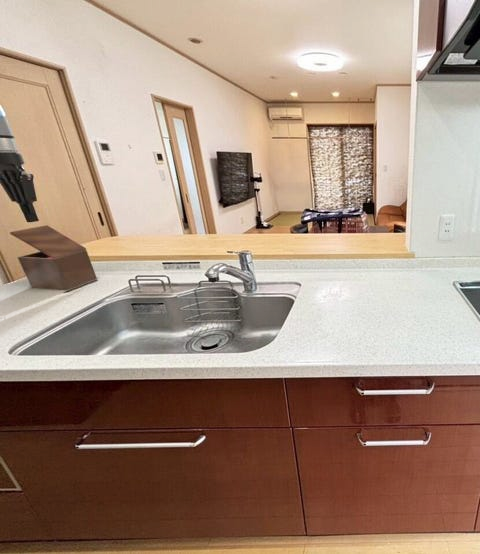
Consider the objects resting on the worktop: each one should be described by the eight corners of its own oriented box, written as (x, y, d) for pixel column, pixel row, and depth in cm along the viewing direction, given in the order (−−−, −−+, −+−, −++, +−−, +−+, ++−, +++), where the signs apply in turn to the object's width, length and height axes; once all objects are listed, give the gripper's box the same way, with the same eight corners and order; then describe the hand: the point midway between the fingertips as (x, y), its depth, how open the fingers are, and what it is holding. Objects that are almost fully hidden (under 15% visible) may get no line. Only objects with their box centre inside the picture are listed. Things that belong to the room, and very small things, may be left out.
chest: (32, 290, 113) (17, 257, 108) (64, 278, 124) (52, 248, 119) (68, 292, 112) (54, 259, 107) (97, 280, 122) (86, 250, 117)
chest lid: (9, 233, 105) (10, 232, 104) (46, 226, 115) (47, 225, 115) (53, 259, 107) (53, 257, 106) (85, 249, 117) (86, 248, 117)
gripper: (33, 152, 102) (59, 220, 111) (1, 152, 104) (29, 218, 113) (6, 152, 95) (36, 224, 104) (-28, 151, 97) (5, 222, 106)
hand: (33, 221), depth 108 cm, fingers closed
